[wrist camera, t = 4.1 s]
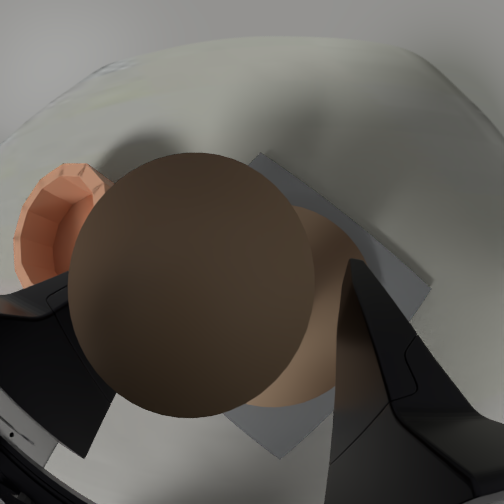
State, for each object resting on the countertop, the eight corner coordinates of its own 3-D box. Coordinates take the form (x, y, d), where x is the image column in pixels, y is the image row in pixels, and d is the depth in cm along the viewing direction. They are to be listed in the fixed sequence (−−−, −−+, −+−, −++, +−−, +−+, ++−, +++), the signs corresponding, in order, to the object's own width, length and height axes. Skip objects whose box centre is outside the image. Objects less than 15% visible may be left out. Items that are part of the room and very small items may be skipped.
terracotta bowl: (169, 236, 17) (134, 215, 13) (92, 333, 16) (49, 334, 13) (101, 167, 19) (68, 142, 15) (40, 253, 18) (2, 241, 15)
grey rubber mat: (428, 289, 14) (431, 288, 14) (280, 455, 13) (279, 459, 13) (261, 156, 17) (260, 152, 16) (127, 311, 16) (122, 311, 16)
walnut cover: (408, 291, 14) (603, 234, 2) (278, 437, 13) (226, 629, 2) (262, 174, 16) (197, -28, 5) (143, 310, 16) (-62, 288, 4)
